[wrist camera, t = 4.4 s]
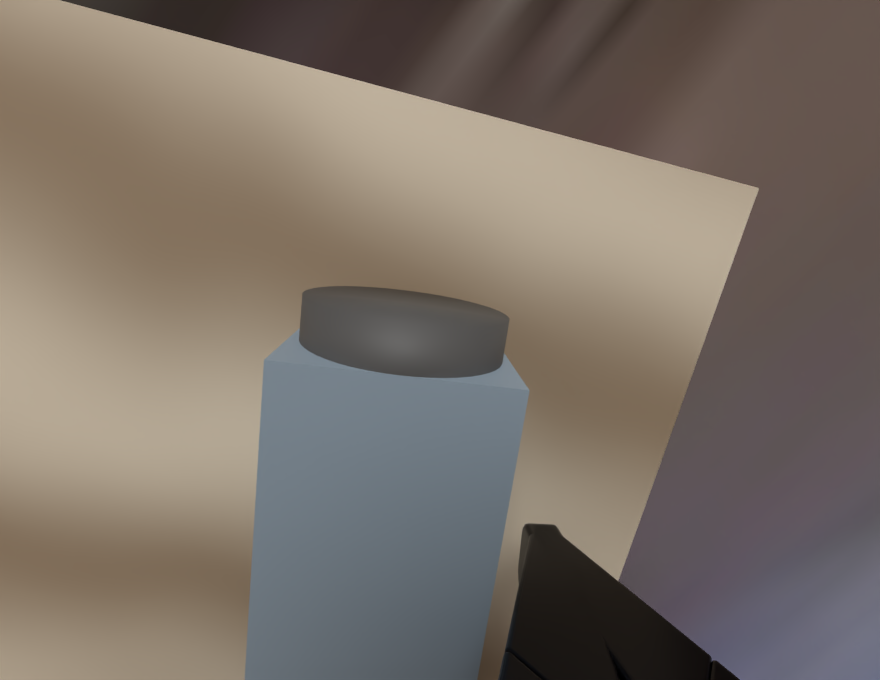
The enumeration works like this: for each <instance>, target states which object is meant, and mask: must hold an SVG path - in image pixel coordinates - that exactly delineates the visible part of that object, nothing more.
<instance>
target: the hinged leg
mask: <svg viewBox="0 0 880 680" xmlns="http://www.w3.org/2000/svg"><path fill="white" fill-rule="evenodd" d="M508 326H509V317H508V316H507V315H505V314H504V313H502V312H500V311H498V310H495V309H493V308H490V307H487V306H484V305H480V304H477V303H473V302H469V301H465V300H460V299H456V298H451V297H446V296H440V295H434V294H428V293H422V292H415V291H407V290H399V289H389V288H377V287H361V286H327V287H317V288H312V289H308V290H306V291H304V292H303V293H302V305H301V318H300V328H299V329H298V330H297V331H296V332H295V333H294V334H292V335H291V336H290V337H289V338H288V339H287V340H286V341H285V342H283V343H282V344H281V345H280V346H279V347H278V348H277V349H276V350H274V351H273V352H272V353H271V354H270V355H269V356H268V357H267V358H266V359H264V368H263V384H262V401H261V417H260V434H259V450H258V467H257V483H256V500H255V516H254V533H253V549H252V566H251V582H250V599H249V615H248V632H247V648H246V665H245V680H477V678H478V673H479V667H480V662H481V656H482V651H483V645H484V639H485V634H486V628H487V623H488V617H489V612H490V606H491V601H492V595H493V590H494V584H495V579H496V573H497V568H498V562H499V557H500V551H501V546H502V540H503V535H504V529H505V524H506V518H507V512H508V507H509V501H510V496H511V490H512V485H513V479H514V474H515V468H516V463H517V457H518V452H519V446H520V441H521V435H522V430H523V424H524V419H525V413H526V408H527V402H528V397H529V391H530V390H529V389H528V387H527V386H526V384H525V383H524V381H523V380H522V379H521V377H520V376H519V374H518V373H517V371H516V370H515V368H514V367H513V365H512V364H511V362H510V361H509V359H508V358H507V356H506V355H505V353H504V350H505V344H506V338H507V332H508Z"/></svg>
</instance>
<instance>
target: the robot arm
mask: <svg viewBox="0 0 880 680" xmlns="http://www.w3.org/2000/svg"><path fill="white" fill-rule="evenodd" d="M518 582H519V586H518V591H517V596H516V600H515V605H514V610H513V614H512V619H511V623H510V628H509V633H508V637H507V642H506V647H505V652H504V655H503V659H502V664H501V668H500V673H499V677H498V680H740V679H738V678H737V677H736V676H735V675H734V674H732V673H731V672H730V671H729V670H727V669H726V668H725V667H724V666H722V665H721V664H720V663H719V662H717V661H715V660H714V661H712V658H711V656H710V655H709V654H707V653H706V652H705V651H704V650H702V649H701V648H700V647H699V646H698V645H696V644H695V643H694V642H693V641H691V640H690V639H689V638H688V637H686V636H685V635H684V634H683V633H682V632H680V631H679V630H678V629H677V628H675V627H674V626H673V625H672V624H670V623H669V622H668V621H667V620H666V619H664V618H663V617H662V616H661V615H659V614H658V613H657V612H656V611H654V610H653V609H652V608H651V607H650V606H648V605H647V604H646V603H645V602H643V601H642V600H641V599H640V598H638V597H637V596H636V595H635V594H634V593H632V592H631V591H630V590H629V589H627V588H626V587H625V586H624V585H622V584H621V583H620V582H619V581H618V580H616V579H615V578H614V577H613V576H611V575H610V574H609V573H608V572H606V571H605V570H604V569H603V568H602V567H600V566H599V565H598V564H597V563H595V562H594V561H593V560H592V559H590V558H589V557H588V556H587V555H586V554H584V553H583V552H582V551H581V550H579V549H578V548H577V547H576V546H574V545H573V544H572V543H571V542H569V541H568V540H567V539H566V538H565V537H563V535H562V534H561V532H560V530H559V529H558V527H557V526H556V525H553V524H535V523H527V524H525V525H524V527H523V529H522V536H521V545H520V554H519V563H518ZM711 662H712V663H711Z"/></svg>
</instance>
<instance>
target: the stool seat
mask: <svg viewBox="0 0 880 680" xmlns="http://www.w3.org/2000/svg"><path fill="white" fill-rule="evenodd" d="M758 190H759V188H756V187H753V186H749V185H745V184H741V183H738V182H734V181H730V180H727V179H723V178H719V177H715V176H712V175H708V174H704V173H700V172H697V171H693V170H689V169H686V168H682V167H678V166H674V165H671V164H667V163H663V162H660V161H656V160H652V159H648V158H645V157H641V156H637V155H633V154H630V153H626V152H622V151H619V150H615V149H611V148H607V147H604V146H600V145H596V144H593V143H589V142H585V141H581V140H578V139H574V138H570V137H566V136H563V135H559V134H555V133H552V132H548V131H544V130H540V129H537V128H533V127H529V126H526V125H522V124H518V123H514V122H511V121H507V120H503V119H499V118H496V117H492V116H488V115H485V114H481V113H477V112H473V111H470V110H466V109H462V108H459V107H455V106H451V105H447V104H444V103H440V102H436V101H432V100H429V99H425V98H421V97H418V96H414V95H410V94H406V93H403V92H399V91H395V90H392V89H388V88H384V87H380V86H377V85H373V84H369V83H365V82H362V81H358V80H354V79H351V78H347V77H343V76H339V75H336V74H332V73H328V72H325V71H321V70H317V69H313V68H310V67H306V66H302V65H298V64H295V63H291V62H287V61H284V60H280V59H276V58H272V57H269V56H265V55H261V54H258V53H254V52H250V51H246V50H243V49H239V48H235V47H231V46H228V45H224V44H220V43H217V42H213V41H209V40H205V39H202V38H198V37H194V36H191V35H187V34H183V33H179V32H176V31H172V30H168V29H164V28H161V27H157V26H153V25H150V24H146V23H142V22H138V21H135V20H131V19H127V18H124V17H120V16H116V15H112V14H109V13H105V12H101V11H97V10H94V9H90V8H86V7H83V6H79V5H75V4H71V3H68V2H64V1H60V0H0V680H245V665H246V648H247V632H248V615H249V599H250V582H251V566H252V549H253V533H254V516H255V500H256V483H257V467H258V450H259V434H260V417H261V401H262V384H263V368H264V359H266V358H267V357H268V356H269V355H270V354H271V353H272V352H273V351H274V350H276V349H277V348H278V347H279V346H280V345H281V344H282V343H283V342H285V341H286V340H287V339H288V338H289V337H290V336H291V335H292V334H294V333H295V332H296V331H297V330H298V329H299V328H300V318H301V305H302V293H303V292H304V291H306V290H308V289H312V288H317V287H327V286H361V287H377V288H389V289H399V290H407V291H415V292H422V293H428V294H434V295H440V296H446V297H451V298H456V299H460V300H465V301H469V302H473V303H477V304H480V305H484V306H487V307H490V308H493V309H495V310H498V311H500V312H502V313H504V314H505V315H507V316H508V317H509V326H508V332H507V338H506V344H505V350H504V353H505V355H506V356H507V358H508V359H509V361H510V362H511V364H512V365H513V367H514V368H515V370H516V371H517V373H518V374H519V376H520V377H521V379H522V380H523V381H524V383H525V384H526V386H527V387H528V389H529V390H530V391H529V397H528V402H527V408H526V413H525V419H524V424H523V430H522V435H521V441H520V446H519V452H518V457H517V463H516V468H515V474H514V479H513V485H512V490H511V496H510V501H509V507H508V512H507V518H506V524H505V529H504V535H503V540H502V546H501V551H500V557H499V562H498V568H497V573H496V579H495V584H494V590H493V595H492V601H491V606H490V612H489V617H488V623H487V628H486V634H485V639H484V645H483V651H482V656H481V662H480V667H479V673H478V678H477V680H498V677H499V673H500V668H501V664H502V659H503V655H504V652H505V647H506V642H507V637H508V633H509V628H510V623H511V619H512V614H513V610H514V605H515V600H516V596H517V591H518V586H519V582H518V563H519V554H520V545H521V536H522V529H523V527H524V525H525V524H527V523H535V524H553V525H556V526H557V527H558V529H559V530H560V532H561V534H562V535H563V537H565V538H566V539H567V540H568V541H569V542H571V543H572V544H573V545H574V546H576V547H577V548H578V549H579V550H581V551H582V552H583V553H584V554H586V555H587V556H588V557H589V558H590V559H592V560H593V561H594V562H595V563H597V564H598V565H599V566H600V567H602V568H603V569H604V570H605V571H606V572H608V573H609V574H610V575H611V576H613V577H614V578H615V579H616V580H619V578H620V575H621V572H622V569H623V566H624V564H625V561H626V558H627V555H628V552H629V550H630V547H631V544H632V541H633V539H634V536H635V533H636V530H637V527H638V525H639V522H640V519H641V516H642V513H643V511H644V508H645V505H646V502H647V499H648V497H649V494H650V491H651V488H652V485H653V483H654V480H655V477H656V474H657V472H658V469H659V466H660V463H661V460H662V458H663V455H664V452H665V449H666V446H667V444H668V441H669V438H670V435H671V432H672V430H673V427H674V424H675V421H676V418H677V416H678V413H679V410H680V407H681V405H682V402H683V399H684V396H685V393H686V391H687V388H688V385H689V382H690V379H691V377H692V374H693V371H694V368H695V365H696V363H697V360H698V357H699V354H700V351H701V349H702V346H703V343H704V340H705V338H706V335H707V332H708V329H709V326H710V324H711V321H712V318H713V315H714V312H715V310H716V307H717V304H718V301H719V298H720V296H721V293H722V290H723V287H724V284H725V282H726V279H727V276H728V273H729V270H730V268H731V265H732V262H733V259H734V257H735V254H736V251H737V248H738V245H739V243H740V240H741V237H742V234H743V231H744V229H745V226H746V223H747V220H748V217H749V215H750V212H751V209H752V206H753V203H754V201H755V198H756V195H757V192H758Z"/></svg>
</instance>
